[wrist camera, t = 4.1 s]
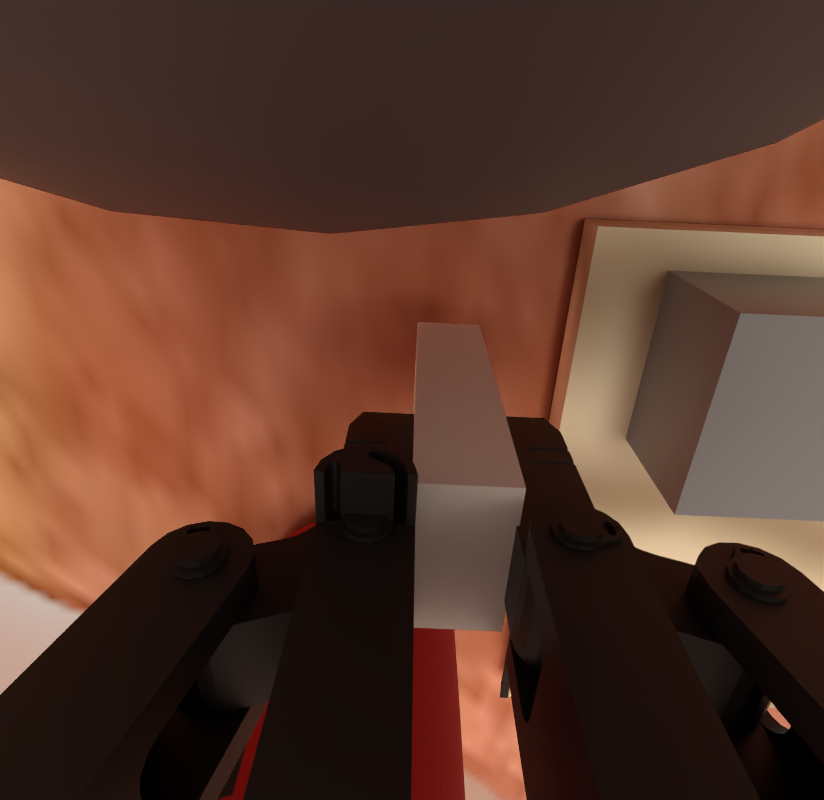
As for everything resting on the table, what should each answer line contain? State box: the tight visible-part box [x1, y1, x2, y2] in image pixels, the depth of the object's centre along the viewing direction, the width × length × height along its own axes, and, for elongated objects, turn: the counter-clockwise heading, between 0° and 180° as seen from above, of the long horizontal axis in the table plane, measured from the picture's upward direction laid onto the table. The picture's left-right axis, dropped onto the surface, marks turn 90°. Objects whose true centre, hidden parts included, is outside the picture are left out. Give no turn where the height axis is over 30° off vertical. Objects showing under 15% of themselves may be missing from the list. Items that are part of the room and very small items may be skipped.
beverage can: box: [217, 522, 465, 800], centre depth 15 cm, size 7×7×12 cm
